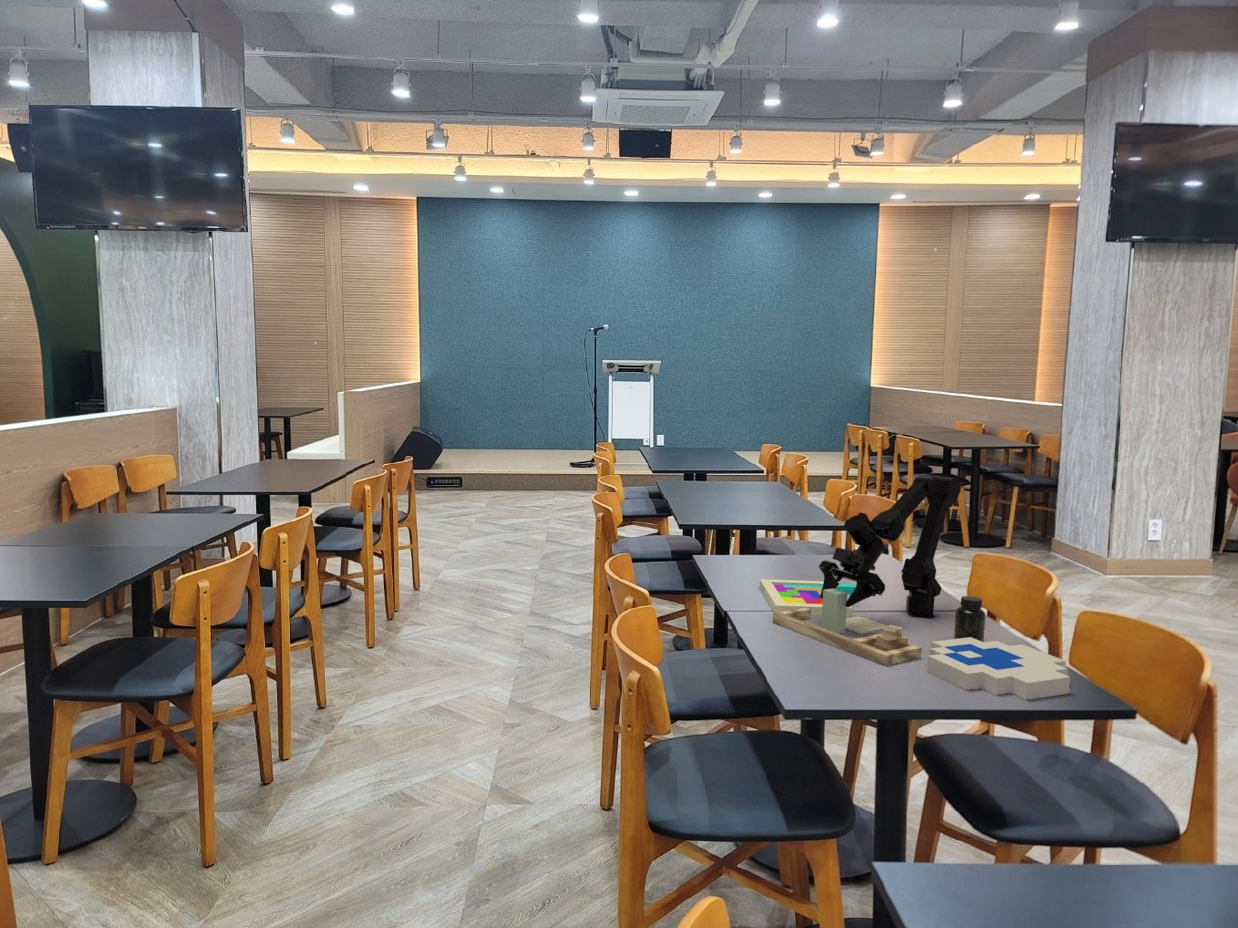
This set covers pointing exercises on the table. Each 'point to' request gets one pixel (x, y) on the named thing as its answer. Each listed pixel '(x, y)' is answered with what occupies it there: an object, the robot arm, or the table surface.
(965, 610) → the supplement bottle
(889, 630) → the offcut maple
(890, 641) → the offcut oak
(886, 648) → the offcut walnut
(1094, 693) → the table surface
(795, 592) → the puzzle game
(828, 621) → the tall green pillar
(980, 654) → the pixel art tile
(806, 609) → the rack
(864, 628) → the mat
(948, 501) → the robot arm
